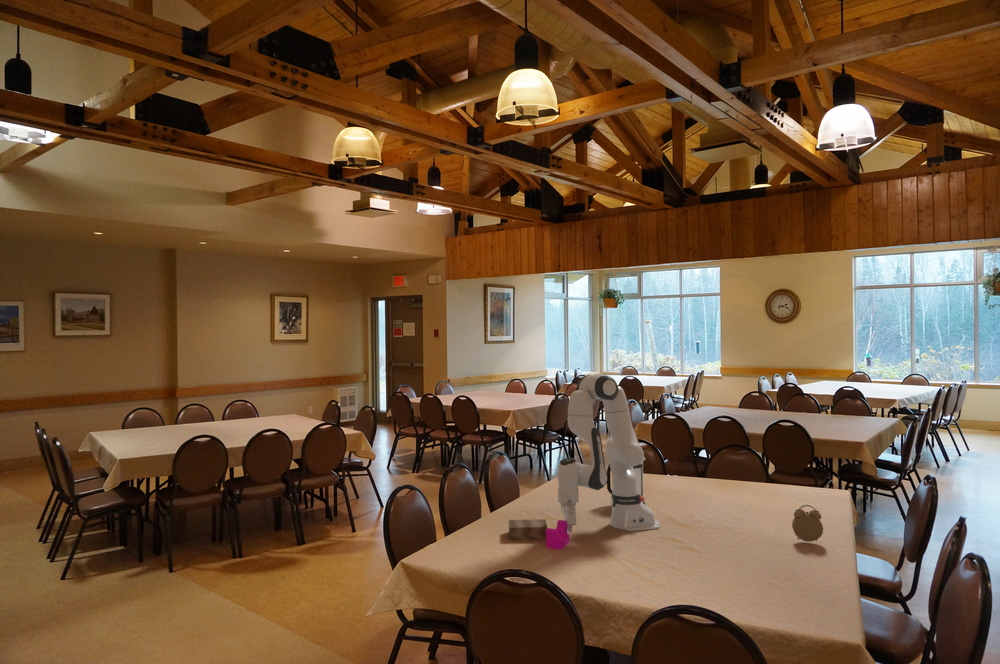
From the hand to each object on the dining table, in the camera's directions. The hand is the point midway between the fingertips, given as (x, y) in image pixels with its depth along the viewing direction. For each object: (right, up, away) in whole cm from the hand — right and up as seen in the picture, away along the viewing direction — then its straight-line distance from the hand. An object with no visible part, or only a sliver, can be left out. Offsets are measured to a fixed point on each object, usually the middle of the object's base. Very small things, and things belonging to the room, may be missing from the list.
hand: (568, 529), depth 265 cm
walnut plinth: (-18, -4, +1) cm, 18 cm away
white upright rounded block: (+36, -3, +50) cm, 62 cm away
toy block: (-5, -4, -8) cm, 10 cm away
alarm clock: (+97, -2, -10) cm, 98 cm away
